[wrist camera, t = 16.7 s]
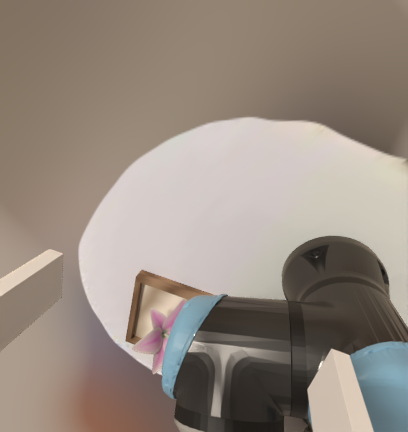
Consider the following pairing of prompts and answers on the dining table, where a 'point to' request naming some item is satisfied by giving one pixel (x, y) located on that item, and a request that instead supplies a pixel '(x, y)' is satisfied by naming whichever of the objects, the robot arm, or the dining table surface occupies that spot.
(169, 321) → the lily
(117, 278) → the dining table surface
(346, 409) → the robot arm
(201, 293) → the tray
